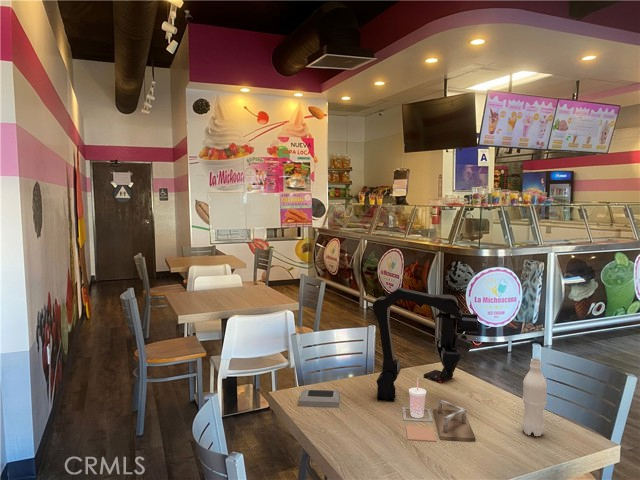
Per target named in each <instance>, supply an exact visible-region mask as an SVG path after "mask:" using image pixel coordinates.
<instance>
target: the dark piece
mask: <svg viewBox="0 0 640 480" xmlns="http://www.w3.org/2000/svg"><path fill="white" fill-rule="evenodd" d="M458 363H459V361H458V362H456V363H454V366H453V369H452V371H451V374H450V376H447V374H446V371H445V368H444V366H442V367H443V368H442V370H440V369H439V370H438V369H434V370H430V371H429V372H426V373H423V379H427V380H429V381H432V382H434V383H438V384H443V383H445V382H448V381H450V380H452V379H453V378H454V372H455V371H456V368H457V366H458Z"/></svg>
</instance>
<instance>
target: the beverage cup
mask: <svg viewBox="0 0 640 480" xmlns="http://www.w3.org/2000/svg"><path fill="white" fill-rule="evenodd" d="M408 394H409V407H410V411H409V412H410V416H411V417H413V418H414V419H422V418H423V417H424V414H425V410H424V408H425V404H426V395H427V390H426V389H424V388H422V387H419V376H417V377H416V387H410V388H409V389H408Z"/></svg>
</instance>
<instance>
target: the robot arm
mask: <svg viewBox="0 0 640 480" xmlns="http://www.w3.org/2000/svg"><path fill="white" fill-rule="evenodd" d="M400 300H402V301H405V302H412V303H415V304H416V303H417V304H421V305H426V306H430V307H433V308H434V309H436V310H439V311H438V312H437V313H435V314H436V315H435V318H440V328H439V329H440V330H439V331H438V333H439V336H438V337H436V339H435V342H434V343H435V347H436V350H437V353H438V356H439V359H440V361H441V362H440V363H441V365H442V367H444V368H445V371H446V374H447V376H450V374H451V371H452V369H453V366H454V363H456V362H458V363H459V362H460V361H461V359H462V356H461V353H460V352H459V350H458V349H462V350H464V351H465V352H470V350H471V348H472V346H473V343H472V342H471V340H469V339H468V337H467V335H466V334H463V332H464V333H465V332H466V333H475V334H477V333H478V329H479V321H478V319H479V318H478V317H479V315H478V313H466V312H463V310H462V309H461V307H460V306H459V301H458V299H457V297H456V296H455V295H452V294H431V293H426V292H422V291H416V290H411V289H407V288H404V287H397V288H395V290H393V291H391V292H390V293H388V294H387V295H385V296H379V297H378V298H377V299H376V300H375V301H374V302H373V303H372V311H373V314H374V316H375V318H376V321H377V323H378V329H379V336H380V341H381V350H382V357H383V361H382V367H381V369H382V370H381V372H380V373H379V375H378V377H377V379H376V384H377V389H376V390H377V393H376V400H377V402H393V403H394V402H395V399H396V385H395V382H396V380H397V379H398V376H399V374H400V373H401V370H402V367H401V365H400V364H401V363H400V362H401V359H400V358H396V356H395V351H394V345H393V337H392V332H391V331H392V330H391V324H390V314H391V306H393V305H394V304H396V303H397V302H398V301H400ZM457 323H458V324H457ZM457 326H458V329H459V330H461V332H462V333H461V334H460V335H458V333H457Z"/></svg>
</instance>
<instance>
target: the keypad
mask: <svg viewBox="0 0 640 480" xmlns="http://www.w3.org/2000/svg"><path fill="white" fill-rule="evenodd" d="M340 400H341V392H340V391H339V390H337V389H313V388H311V389H310V388H308V389H302V390H301V392H300V395H299V400H298V407H304V408H306V407H309V408H310V407H311V408H332V409H333V408H336V409H339V408H340Z"/></svg>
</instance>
